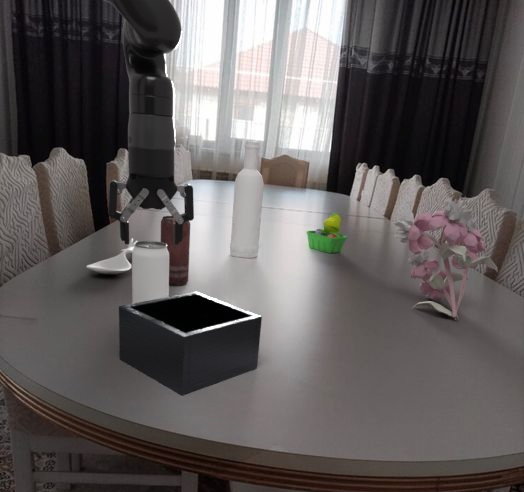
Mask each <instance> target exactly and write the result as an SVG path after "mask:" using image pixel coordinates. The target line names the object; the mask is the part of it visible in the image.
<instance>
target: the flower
mask: <svg viewBox="0 0 524 492" xmlns="http://www.w3.org/2000/svg"><path fill="white" fill-rule="evenodd" d="M463 198H464V199H461V200H460V199H456V198H455V199H454V200H453V198H452V196H450V197H448V198H447V199H445V201H444V203H443V206H444V208H445V210H436V211H435V212H434V213H433V214H432V215H431V213H430V212H422V213H421V214H419V215H417V217H416V218H415V217H414V213H413V212H411V211H405V212H402V215H403V217H401V219H400V218H398V220H397V221H392V223H393V225H395V227H398V228H396V230H397V231H396V232H395V234H394V238H396V239H399V240H398V241H399V242H400V243H403V244H406V243H407V244H408V250H409V251H410V253H412V255H410V257H407V260H408V263H409V265H412V266H415V267H414V268H413V269H412V270H411V272H410V278H411V279H413V280H416V279H418V280H422V281H423V282H420V283H419V286H418V287H419V291H420V293H421V294H423V295H426V296H425V298H429V299H431V301H430V300H429V301H420V302H419V301H418V302H417V303H415V304H414V305H413V307H412V309H414V308H416V307H418V306H421V307H423V306H425V307H428V308H432V309H434V310H435V311H437V313H441V314H446V315H448V316H449V317H451V318H453V319H454V320H455V321H457V322H458V323H459V321H460V320H459V316H458V311H459V308H460V306H461V303H462V300H463V298H464V295H465V292H466V287H467V280H468V281H469V278H468V270H469V268H470V269H473V268H476V267H477V266H478V265H485V266H487V267H488V268H489V269H491V270H495V272H496V273H498V272H499V271H498V266H497V265H496V264H495V263H494V261H493V260H492V259H491V257H490V256H480V255H478V254H477V253H481V252H484V251H486V243H485V242H484V241H483V236H482V233H481V232H480V231H479V230H477V228H478V227H479V224H478V222H479V221H478V220H479V215H477V216H476V217H475V218H474V219H473V216H474V215H472V212H473V208H471V207H468V205H467V204H465V202H466V200H467V198H466V195H465V196H464V197H463ZM464 204H465V205H464ZM467 207H468V208H467ZM444 227H445V228H444ZM442 228H444V230H443V232H442V236H441V240H440V242H439V241H438V240H437V239H436V238H435V237H434V236H433V235H432V234H430V233H428V231H430V232H432V233H433V232H436V231H438V230H440V229H442ZM445 241H446V242H445ZM444 242H445V243H444ZM433 244H436V246H437V248H438V252H439V254H440V255H441V258H442V260H443V265H444V269H445V271H444V270H439V269H438V268H440V263H439V261H438V260H437V259H429V257H430V252H429V251H428V249H430V248H431V247H432V246H433ZM421 250H423V251H421ZM450 257H452V258H451V261H450V259H449V258H450ZM428 259H429V260H428ZM450 262H451V264H450ZM451 266H452V267H453V268H455V269H456V270H463V273H462V274H461V273H458V272H454V271H452V270H451ZM437 270H438V271H437ZM458 281H461V284H460V291H459V296H458V299H457V302H456V295H455V287H454V283H455V282H458ZM443 295H444V296H445V298H446V300H447V302H448V304H449V307H450V309H451V310H450V309H447V308H446V307H444V305H442V304H439V303H438V302H435V301H436V300H441V299H442V298H443Z"/></svg>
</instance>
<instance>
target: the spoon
mask: <svg viewBox="0 0 524 492" xmlns="http://www.w3.org/2000/svg"><path fill="white" fill-rule="evenodd" d="M136 242H138V240H135V241H134V238H133V237H131V239H129V244H127V248H123V249H122V248H121V250H120V253H119V254H117V255H115V256H112V257H109V258H107V259H103V260H99V261H97V262H94V263H90V264H87V265H86V267H85V268H87V269H88V270H90V271H92V272H94V273H97V274H102V275H118V274H119V275H120V274H123V273H125V272H128V271H129V270H130V269H132V263H131V262H129V260H128V258H127V257H126V255H132V252H133V249H134V247H135V243H136Z"/></svg>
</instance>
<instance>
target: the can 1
mask: <svg viewBox="0 0 524 492" xmlns="http://www.w3.org/2000/svg"><path fill="white" fill-rule="evenodd" d="M131 274H132V275H131V285H132V287H131V293H132V295H131V298H132V302H131V304H134V303H139V302H144V301H149V300H155V299H160V298H165V297H170V295H169V294H170V293H169V292H170V291H169V290H170V289H169V288H170V285H169V252H168V250H167V244H165V243H162V242H161V241H158V240H157V241H155V240H140V241H137V242H136V243H135V247H134V249H133V252H132V254H131Z"/></svg>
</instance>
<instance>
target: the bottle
mask: <svg viewBox="0 0 524 492" xmlns="http://www.w3.org/2000/svg"><path fill="white" fill-rule="evenodd" d="M260 149H261V146H260V141H258V140H249V139H246V140H245V144H244V158H243V168H242V169H241V170H240V171H239V172H238V173H237V175H236V177H235V179H234V186H233V187H234V188H233V189H234V190H233V202H232V203H233V205H232V216H231V217H232V218H231V234H230V243H229V254H230V256H233V257H235V258H241V259H254V258H257V257H258V255H259V254H258V253H259V247H260V244H259V243H260V231H261V222H262V210H263V199H264V187H265V184H264V177H263V175H262V174H261V173H260V171H259V170H258V167H259V153H260Z"/></svg>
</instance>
